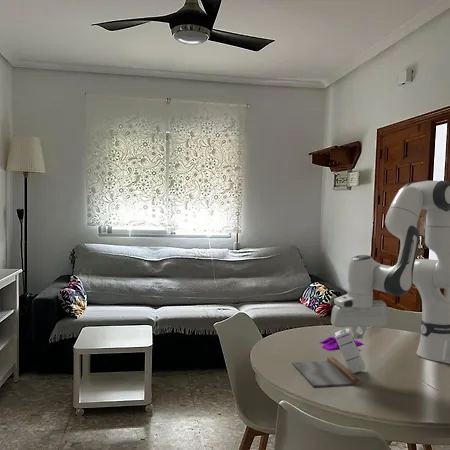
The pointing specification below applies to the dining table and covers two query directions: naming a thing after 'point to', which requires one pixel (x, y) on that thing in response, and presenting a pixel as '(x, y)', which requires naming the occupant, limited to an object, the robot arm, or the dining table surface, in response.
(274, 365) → the dining table surface
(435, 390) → the dining table surface
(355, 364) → the syrup box
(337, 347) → the cloth
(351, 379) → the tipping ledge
